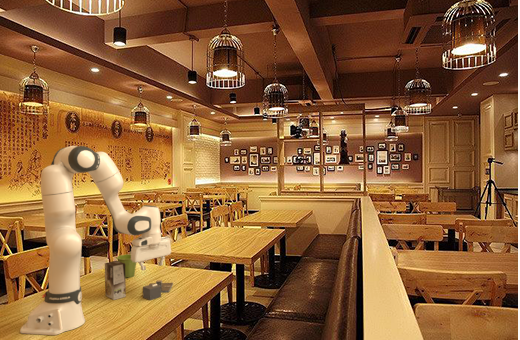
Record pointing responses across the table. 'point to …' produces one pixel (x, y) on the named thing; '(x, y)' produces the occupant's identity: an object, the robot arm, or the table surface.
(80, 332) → the table surface
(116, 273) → the coffee box
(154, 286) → the grey drawer unit
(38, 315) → the robot arm
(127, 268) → the plant pot
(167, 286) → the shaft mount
